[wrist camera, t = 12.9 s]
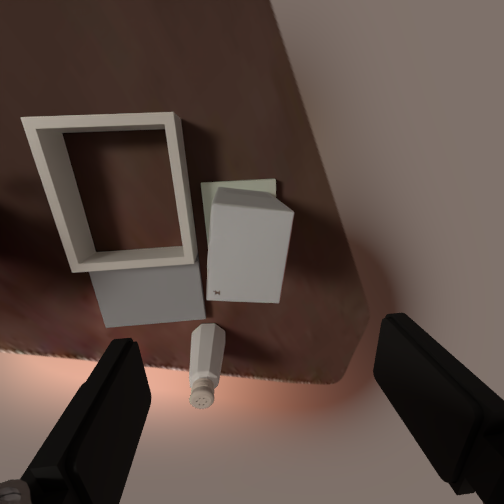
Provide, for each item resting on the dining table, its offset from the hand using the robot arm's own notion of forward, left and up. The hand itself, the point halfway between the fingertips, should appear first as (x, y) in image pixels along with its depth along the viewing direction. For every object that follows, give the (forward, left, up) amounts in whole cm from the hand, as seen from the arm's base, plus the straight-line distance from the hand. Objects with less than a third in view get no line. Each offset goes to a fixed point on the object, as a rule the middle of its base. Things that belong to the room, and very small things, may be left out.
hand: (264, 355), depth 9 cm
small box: (0, 0, -24) cm, 24 cm away
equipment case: (+1, -13, -24) cm, 27 cm away
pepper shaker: (+18, -6, -25) cm, 31 cm away
